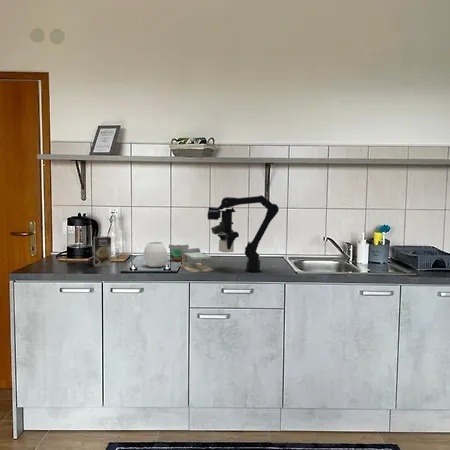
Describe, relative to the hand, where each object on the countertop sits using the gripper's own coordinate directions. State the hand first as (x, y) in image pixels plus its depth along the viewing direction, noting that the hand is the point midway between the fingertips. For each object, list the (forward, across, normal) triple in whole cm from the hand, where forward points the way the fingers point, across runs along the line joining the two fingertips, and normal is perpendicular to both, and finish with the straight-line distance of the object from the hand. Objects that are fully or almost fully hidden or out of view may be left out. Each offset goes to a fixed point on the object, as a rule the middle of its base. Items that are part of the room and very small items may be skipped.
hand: (226, 248), depth 259 cm
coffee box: (+12, -36, -60) cm, 71 cm away
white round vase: (+12, -23, -33) cm, 42 cm away
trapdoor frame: (+12, -10, -14) cm, 21 cm away
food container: (+12, -34, -15) cm, 39 cm away
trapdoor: (+7, -10, -14) cm, 19 cm away
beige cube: (+2, 0, 0) cm, 2 cm away
